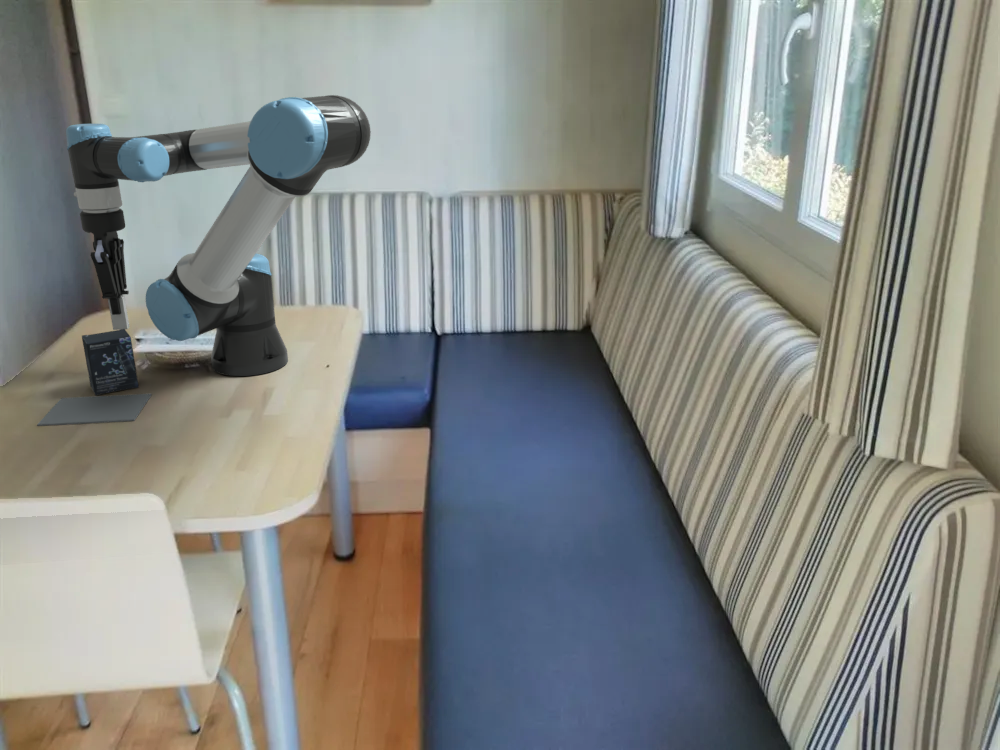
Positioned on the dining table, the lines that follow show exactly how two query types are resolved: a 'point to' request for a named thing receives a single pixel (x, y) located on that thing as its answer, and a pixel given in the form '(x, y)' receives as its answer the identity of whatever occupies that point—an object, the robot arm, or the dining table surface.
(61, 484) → the dining table surface
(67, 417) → the mat
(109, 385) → the box
